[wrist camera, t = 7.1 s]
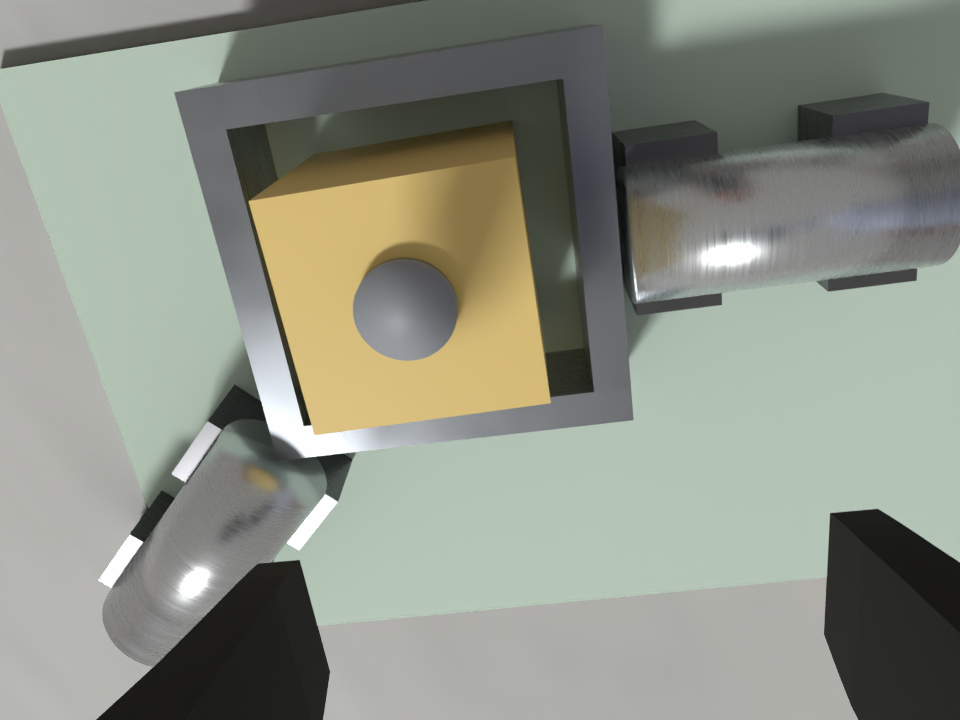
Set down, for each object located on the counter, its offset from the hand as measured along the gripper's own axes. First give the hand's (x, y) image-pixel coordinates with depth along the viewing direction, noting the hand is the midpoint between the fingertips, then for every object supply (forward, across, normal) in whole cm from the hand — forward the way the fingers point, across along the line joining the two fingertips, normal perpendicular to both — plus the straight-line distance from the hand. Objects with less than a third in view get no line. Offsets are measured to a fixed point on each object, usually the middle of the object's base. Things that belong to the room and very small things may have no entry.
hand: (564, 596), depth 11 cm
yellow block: (+9, +2, -3) cm, 10 cm away
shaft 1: (+10, +9, +4) cm, 14 cm away
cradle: (+10, +2, -3) cm, 10 cm away
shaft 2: (+10, -5, -3) cm, 11 cm away
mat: (+10, 0, 0) cm, 10 cm away
